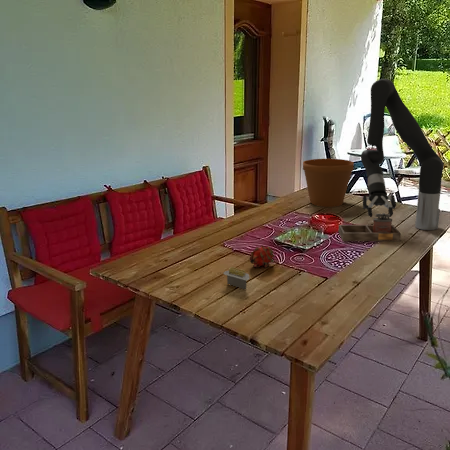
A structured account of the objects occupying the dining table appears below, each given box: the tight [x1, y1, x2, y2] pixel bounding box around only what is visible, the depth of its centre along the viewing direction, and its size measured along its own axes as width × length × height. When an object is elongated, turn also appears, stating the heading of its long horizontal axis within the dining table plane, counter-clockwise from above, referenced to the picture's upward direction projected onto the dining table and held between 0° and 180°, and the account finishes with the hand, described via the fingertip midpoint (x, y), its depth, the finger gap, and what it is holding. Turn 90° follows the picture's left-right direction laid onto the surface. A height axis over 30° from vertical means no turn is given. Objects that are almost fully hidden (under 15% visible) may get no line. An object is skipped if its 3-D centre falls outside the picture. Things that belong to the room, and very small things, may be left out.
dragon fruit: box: [249, 245, 275, 269], centre depth 172 cm, size 8×8×12 cm
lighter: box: [372, 212, 393, 233], centre depth 201 cm, size 8×3×10 cm, turn 84°
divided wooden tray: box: [338, 224, 401, 242], centre depth 202 cm, size 24×12×4 cm, turn 85°
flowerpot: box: [302, 158, 354, 208], centre depth 260 cm, size 28×28×24 cm
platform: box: [223, 266, 250, 290], centre depth 155 cm, size 12×18×7 cm, turn 53°
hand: (380, 216), depth 203 cm, fingers open, 8 cm apart
